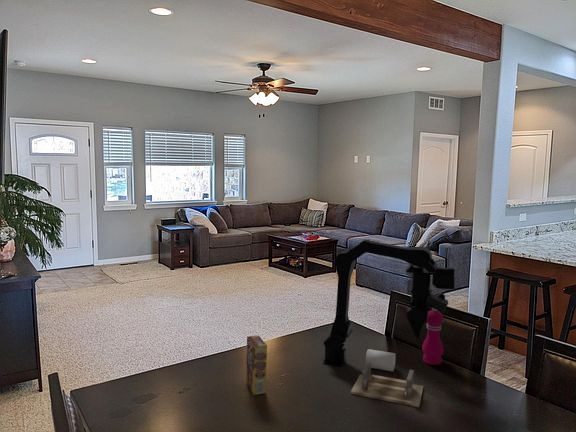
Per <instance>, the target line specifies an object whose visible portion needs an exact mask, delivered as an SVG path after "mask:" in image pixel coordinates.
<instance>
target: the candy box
mask: <svg viewBox="0 0 576 432" xmlns="http://www.w3.org/2000/svg"><path fill="white" fill-rule="evenodd" d="M267 355H268V345H267V344H266V342H265V341H264V340H263V339H262V337H261V336H260V335H256V334H255V335H249V336H247V337H246V371H245V372H246V378H245V379H246V380H245V381H246V382H245V383H246V384H247V386H248V388H249V389H250V392H251V393H252V395H253V396H257V395H264V394H266V393H267V360H268V359H267V358H268V356H267Z"/></svg>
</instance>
